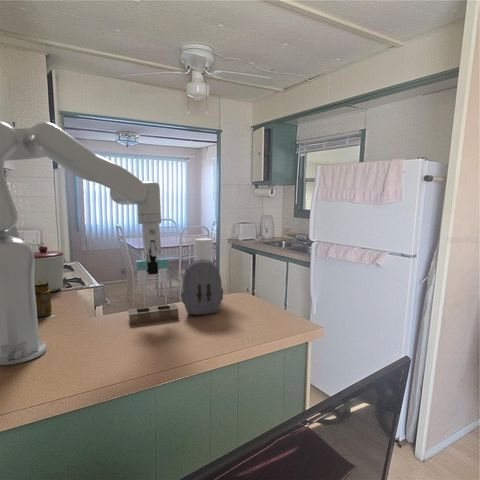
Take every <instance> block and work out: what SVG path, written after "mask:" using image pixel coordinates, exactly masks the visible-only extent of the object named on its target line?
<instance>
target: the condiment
mask: <svg viewBox="0 0 480 480" xmlns="http://www.w3.org/2000/svg"><path fill="white" fill-rule="evenodd" d="M34 284H35V296H36V308H37V320H38V321H40V320H41V321H43V320H49V319H51V318H56V317H57V316H56V315H55V313H53V312H52V311H53V310H52V297H51V292H50V290H49V286H48V285H49V284H48V282H38V283H34ZM52 313H53V314H52Z"/></svg>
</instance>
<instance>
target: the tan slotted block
mask: <svg viewBox="0 0 480 480" xmlns="http://www.w3.org/2000/svg"><path fill="white" fill-rule="evenodd" d="M128 319H129V320H128V321H129V324H130V325H131V326H132V325H140V324H147V323H155V322H161V321H163V322H164V321H170V320H176V319H180V318H179V308H178V306H177V305H176V303H172V304H165V305H163V304H162V305H155V306H147V307H146V306H145V307H137V308H131V309H128Z"/></svg>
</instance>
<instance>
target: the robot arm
mask: <svg viewBox="0 0 480 480" xmlns="http://www.w3.org/2000/svg"><path fill="white" fill-rule="evenodd" d="M40 158H41V159H42V158H48V159H49V160H52V161H53V162H54V163H56V164H57V165H59V166H60V167H62V168H64V169H65V170H67V172H70V173H71V174H73V175H74V176H75V177H78V178H79V179H83V180H85V181H88V182H92V183H96V184H99V185H101V186H104V187H106V188H108V189H109V195H110V198H111V200H112V201H113V202H114V203H116V204H118V205H120V206H121V205H123V206H124V205H125V206H130V205H132V206H133V205H136V206H137V222H138V224H137V225H141V226H142V227H141V230H142V241H143V242H142V244H143V250H144V252H145V253H146V260H148V262H149V263H148V270H146V273H147V275H159V269H158V262H157V259H158V254H161V253H162V245H161V244H162V243H161V232H160V231H161V230H160V225H159V224H162V210H161V208H162V207H161V190H160V189H161V188H160V184H159V183H158V182H154V181H142V180H141V179H140V178H138V177H137V176H135V175H134V174H132V173H131V172H130V171H129V170H127V169H126V168H124V167H123V166H120V164H119V165H118V164H117V163H115V162H113V161H111V160H110V159H107V158H105V157H103V156H101V155H99V154H97V153H95V151H93V150H91V149H90V148H88V147H87V146H85V145H84V144H82V143H81V142H80V141H78V140H77V139H76V138H74V137H73V136H72V135H70V134H69V133H68V132H66V131H65V130H63V129H62V128H60V127H59V126H58V125H56V124H55V123H51V122H48V121H42V122H39V123H36V124H34V125H33V126H32V127H24V128H13V127H12V126H11V125H10V124H8V123H6V122H3V121H1V120H0V366H10V365H11V366H12V365H18V364H21V363H26V362H28V361H29V362H30V361H31V360H33V359H36V358H39V357H40V356H42V355H43V354H44V353H45V352H46V351H47V345H46V343H45V342H42V341H40V336H39V335H40V334H39V323H38V321H39V320H37V308H36V296H35V284H34V266H35V260H34V253H33V252H34V250H33V249H32V247H31V245H30V244H29V243H28V242H26V241H25V240H24V239H21V236H20V234H19V231H18V228H17V225H16V224H17V223H18V219H19V214H18V210H17V208H16V206H15V203H14V200H13V197H12V194H11V191H10V189H9V186H8V183H7V179H6V175H5V170H4V166H5V162H6V161H19V160H32V159H40ZM157 253H158V254H157Z"/></svg>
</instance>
